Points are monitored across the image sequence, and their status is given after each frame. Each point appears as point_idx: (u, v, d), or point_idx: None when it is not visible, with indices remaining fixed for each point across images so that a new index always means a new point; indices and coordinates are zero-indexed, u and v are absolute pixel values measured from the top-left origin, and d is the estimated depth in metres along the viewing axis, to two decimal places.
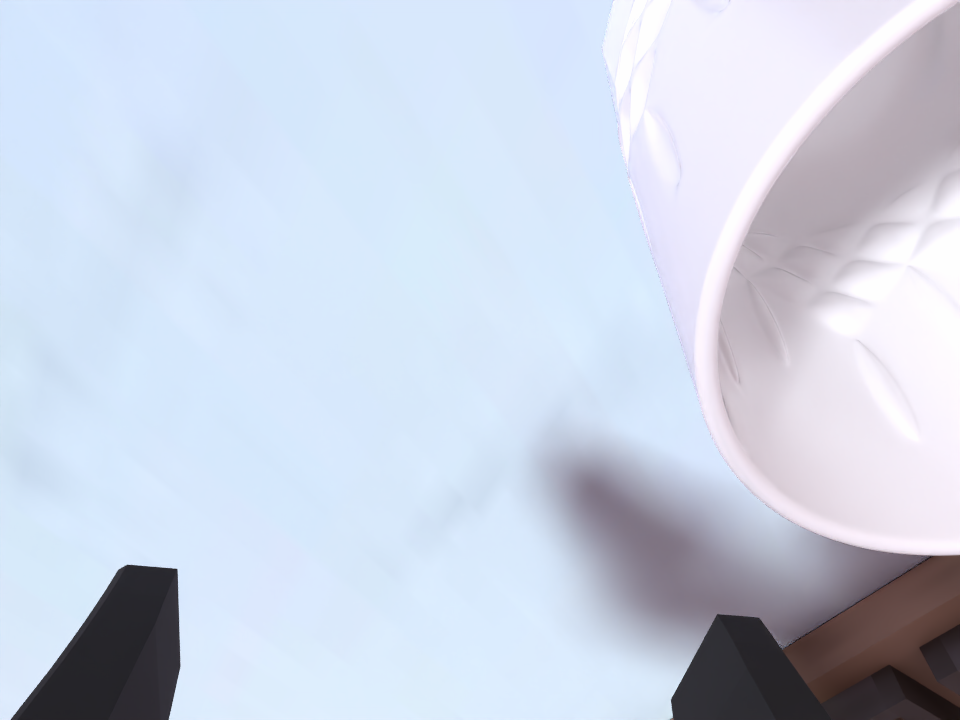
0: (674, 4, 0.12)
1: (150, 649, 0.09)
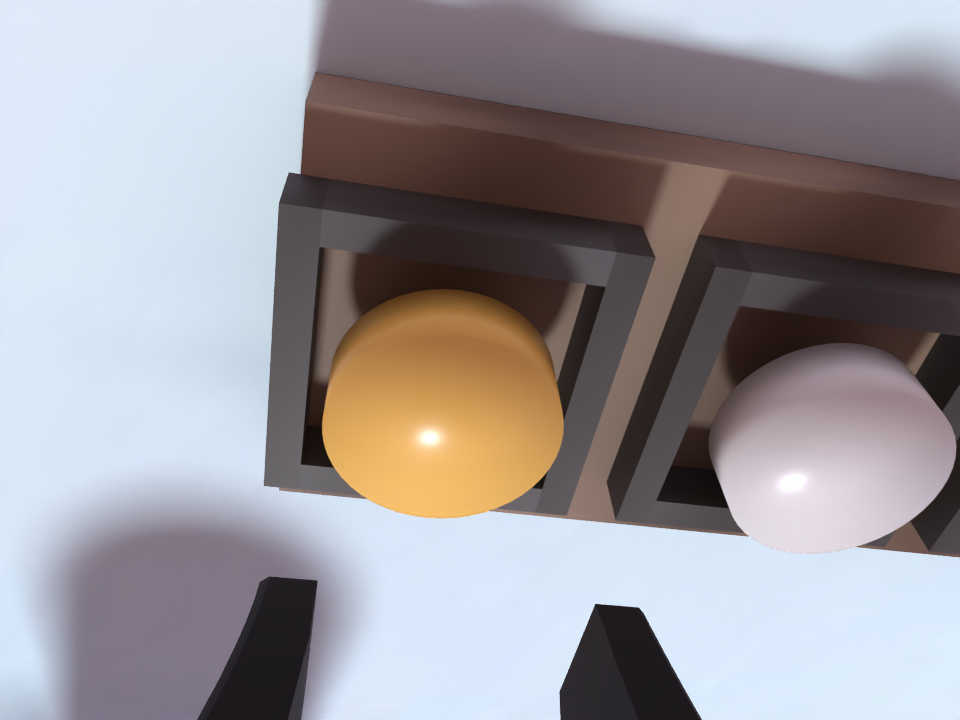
0: None
1: (305, 660, 0.10)
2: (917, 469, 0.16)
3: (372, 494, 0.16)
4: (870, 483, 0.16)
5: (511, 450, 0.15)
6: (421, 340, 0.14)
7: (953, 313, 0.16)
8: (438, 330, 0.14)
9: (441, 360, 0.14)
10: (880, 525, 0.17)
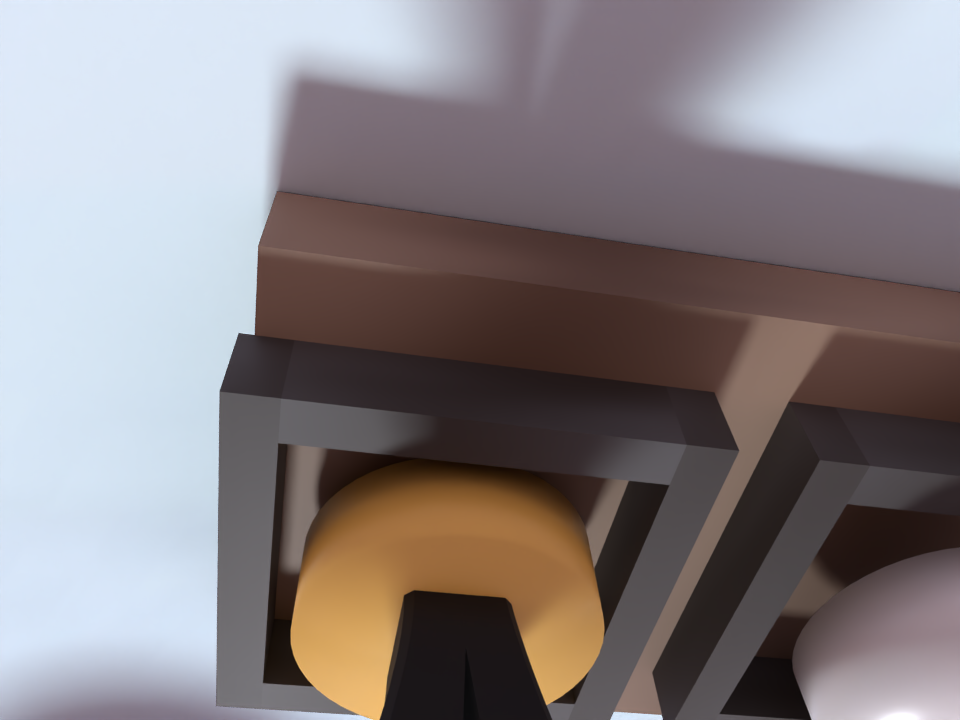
0: None
1: None
2: None
3: (357, 707, 0.12)
4: None
5: (535, 658, 0.12)
6: (420, 542, 0.10)
7: None
8: (442, 526, 0.10)
9: (446, 563, 0.11)
10: None
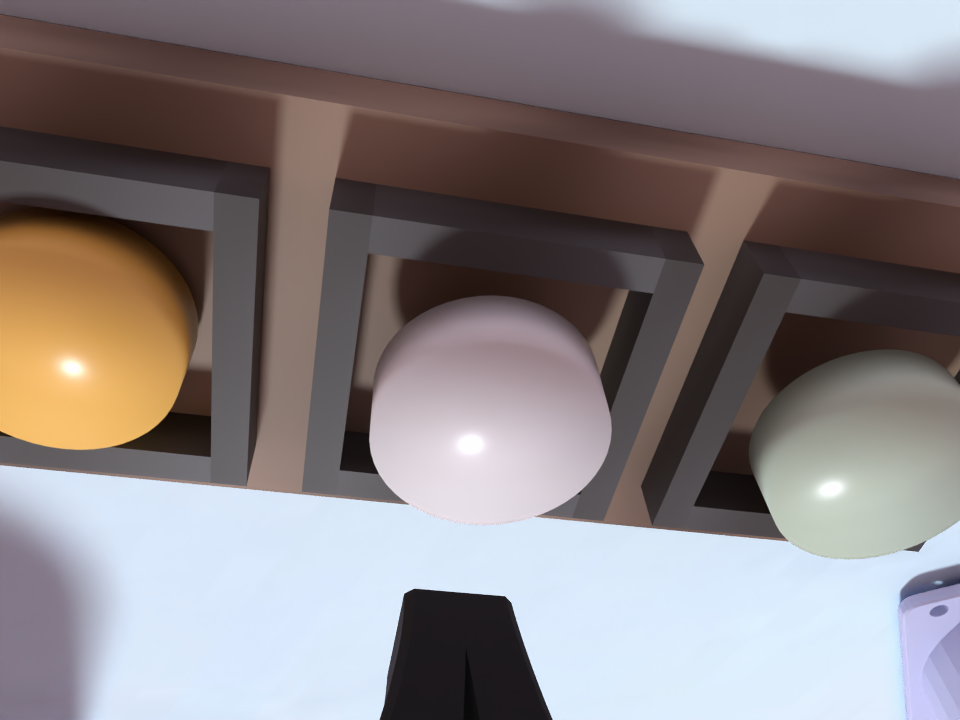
0: None
1: None
2: (572, 432, 0.15)
3: None
4: (526, 447, 0.15)
5: (130, 375, 0.15)
6: None
7: (607, 263, 0.15)
8: (15, 243, 0.13)
9: (23, 275, 0.14)
10: (551, 493, 0.16)
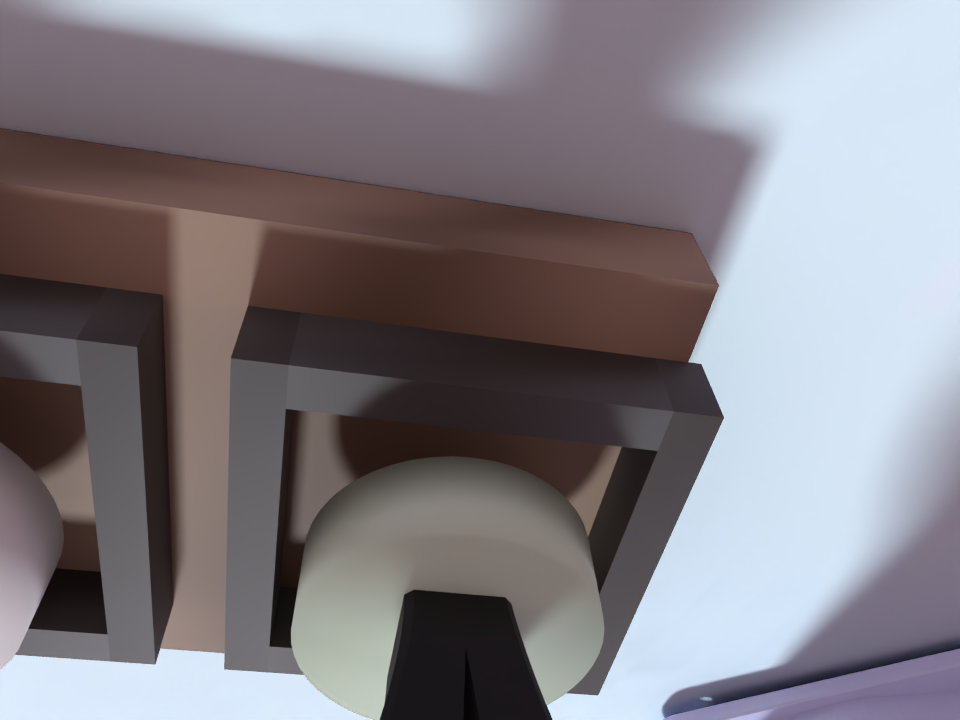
0: None
1: None
2: None
3: None
4: None
5: None
6: None
7: None
8: None
9: None
10: None
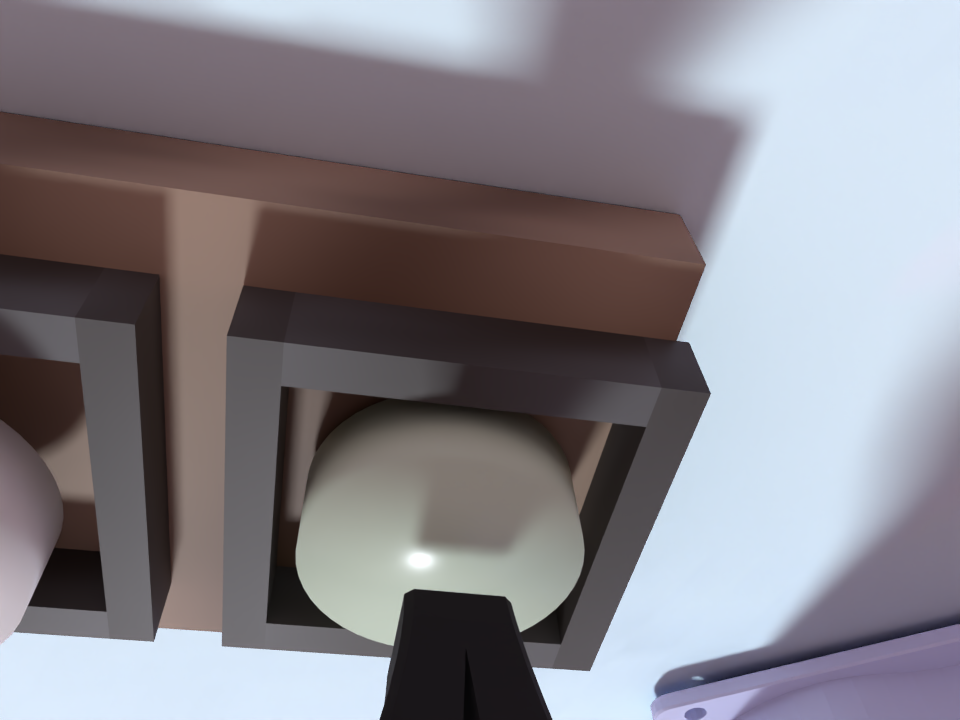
0: None
1: None
2: None
3: None
4: None
5: None
6: None
7: None
8: None
9: None
10: None
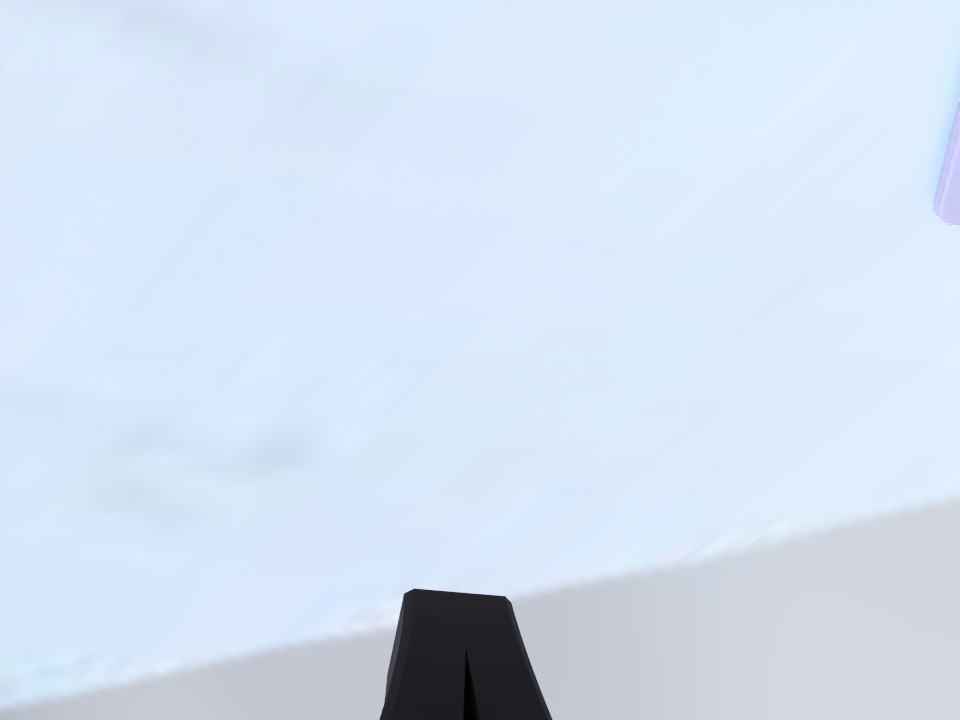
0: None
1: None
2: None
3: None
4: None
5: None
6: None
7: None
8: None
9: None
10: None
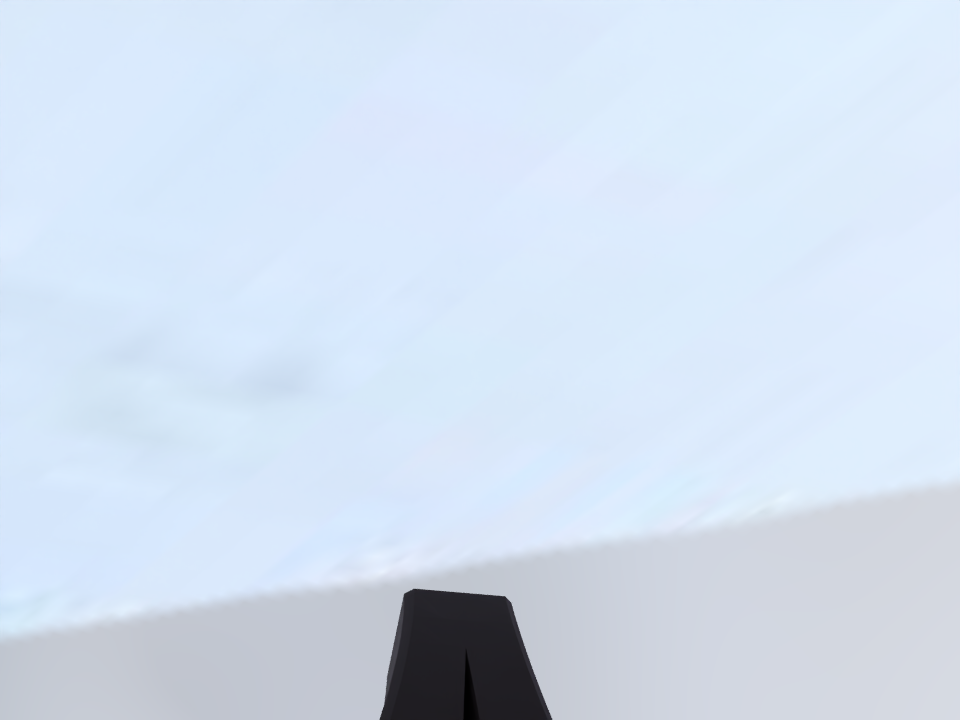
0: None
1: None
2: None
3: None
4: None
5: None
6: None
7: None
8: None
9: None
10: None
